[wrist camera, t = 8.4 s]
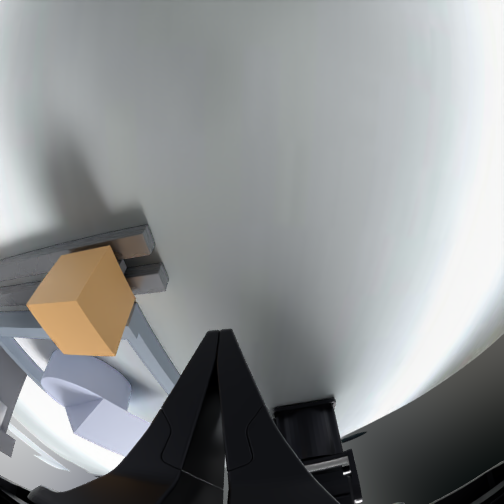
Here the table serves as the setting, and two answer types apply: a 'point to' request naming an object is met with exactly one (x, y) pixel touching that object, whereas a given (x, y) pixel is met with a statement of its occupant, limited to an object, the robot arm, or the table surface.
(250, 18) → the table surface
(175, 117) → the table surface
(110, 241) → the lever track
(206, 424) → the robot arm
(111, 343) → the tan wooden cube
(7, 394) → the press bed
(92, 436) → the wedge on round base
